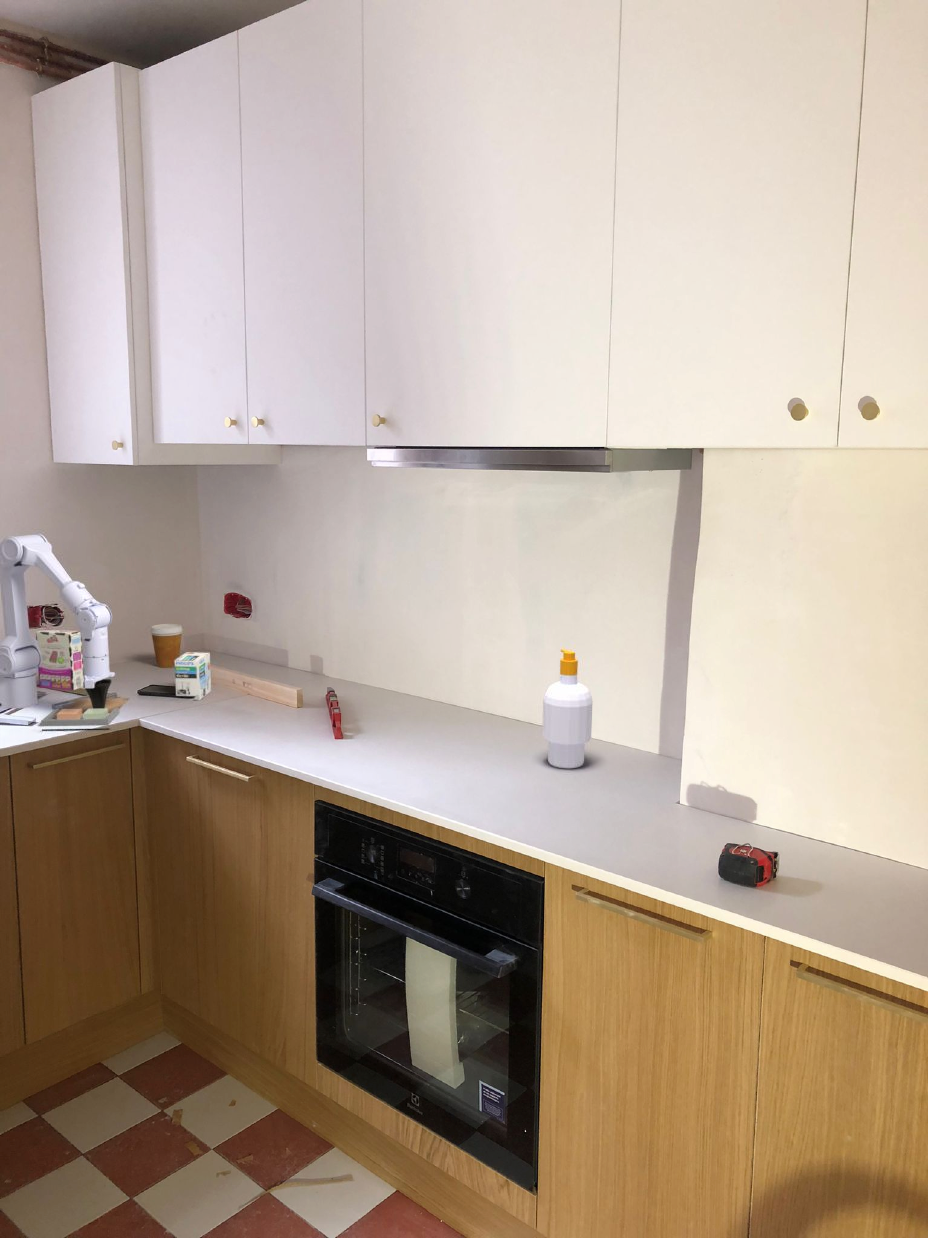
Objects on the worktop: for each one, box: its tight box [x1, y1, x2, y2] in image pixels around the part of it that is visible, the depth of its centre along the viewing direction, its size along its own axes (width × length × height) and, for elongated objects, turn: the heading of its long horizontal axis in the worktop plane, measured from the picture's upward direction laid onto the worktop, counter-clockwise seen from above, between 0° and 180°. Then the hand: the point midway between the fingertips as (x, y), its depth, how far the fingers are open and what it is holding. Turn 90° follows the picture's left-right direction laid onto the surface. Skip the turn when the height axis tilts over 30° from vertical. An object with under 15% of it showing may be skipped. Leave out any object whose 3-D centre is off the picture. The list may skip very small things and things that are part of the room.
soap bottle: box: [542, 648, 593, 770], centre depth 206 cm, size 10×10×24 cm
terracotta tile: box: [56, 708, 83, 719], centre depth 233 cm, size 4×4×2 cm
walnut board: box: [65, 697, 130, 715], centre depth 245 cm, size 13×14×1 cm
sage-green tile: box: [82, 708, 109, 719], centre depth 234 cm, size 4×4×2 cm
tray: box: [40, 708, 120, 732], centre depth 232 cm, size 15×10×2 cm
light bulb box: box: [174, 651, 212, 701], centre depth 260 cm, size 11×7×11 cm, turn 179°
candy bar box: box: [35, 628, 85, 691], centre depth 263 cm, size 11×5×16 cm, turn 73°
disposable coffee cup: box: [149, 623, 184, 669], centre depth 295 cm, size 10×10×12 cm
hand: (99, 710), depth 237 cm, fingers closed
